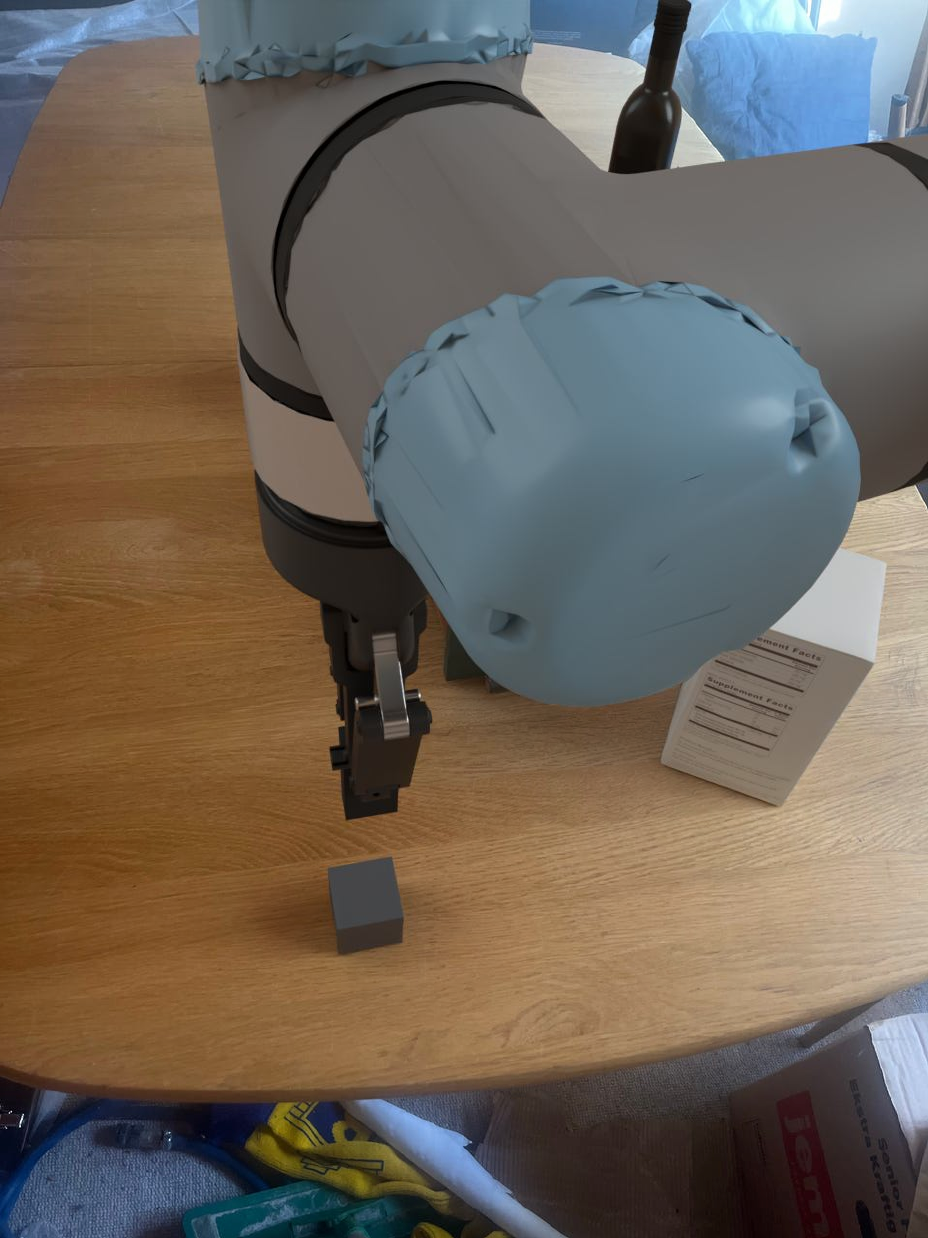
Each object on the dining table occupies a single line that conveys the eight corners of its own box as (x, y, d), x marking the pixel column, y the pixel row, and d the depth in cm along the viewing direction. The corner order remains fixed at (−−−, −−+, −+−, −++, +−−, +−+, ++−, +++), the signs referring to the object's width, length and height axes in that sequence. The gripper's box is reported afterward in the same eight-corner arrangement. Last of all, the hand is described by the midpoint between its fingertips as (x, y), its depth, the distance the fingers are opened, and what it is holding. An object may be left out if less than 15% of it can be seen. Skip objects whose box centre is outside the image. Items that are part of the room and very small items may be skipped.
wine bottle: (629, 319, 107) (700, 17, 84) (580, 306, 108) (637, 4, 85) (641, 294, 110) (712, -3, 87) (593, 281, 111) (651, -15, 88)
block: (402, 942, 60) (404, 917, 57) (338, 955, 59) (336, 930, 56) (391, 883, 62) (391, 855, 59) (329, 894, 62) (327, 867, 59)
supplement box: (782, 811, 68) (878, 669, 55) (656, 766, 70) (721, 618, 57) (801, 708, 74) (892, 558, 61) (685, 669, 76) (749, 515, 63)
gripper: (525, 586, 29) (467, 908, 47) (437, 335, 37) (416, 693, 55) (272, 617, 27) (312, 937, 45) (237, 349, 35) (283, 711, 53)
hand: (369, 803), depth 50 cm, fingers closed
